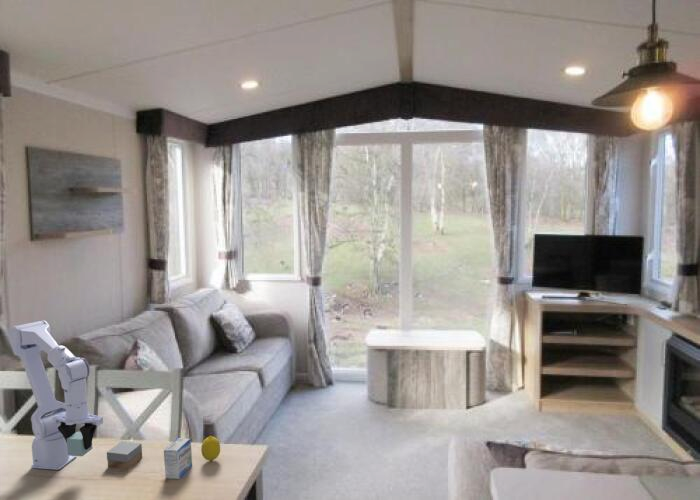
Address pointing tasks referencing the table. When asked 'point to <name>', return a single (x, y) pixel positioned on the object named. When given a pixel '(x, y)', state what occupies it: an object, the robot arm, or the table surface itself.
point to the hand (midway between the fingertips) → (80, 447)
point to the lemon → (210, 448)
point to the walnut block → (124, 463)
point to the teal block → (76, 445)
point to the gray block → (124, 451)
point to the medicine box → (178, 458)
